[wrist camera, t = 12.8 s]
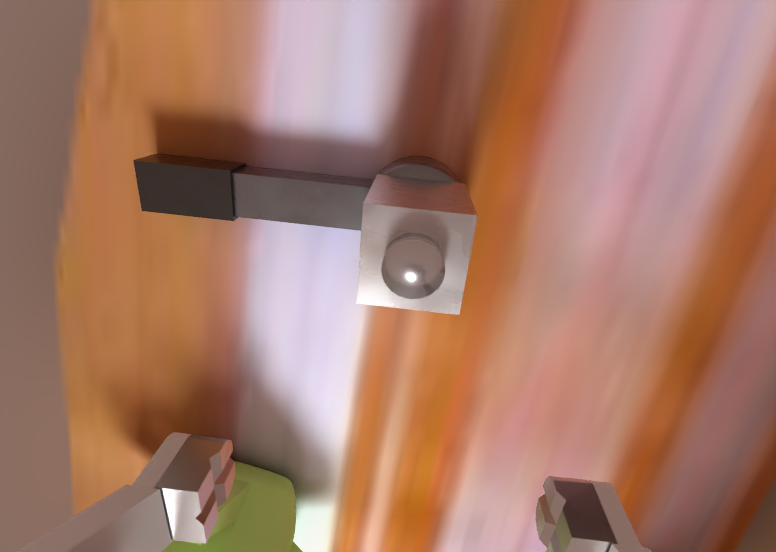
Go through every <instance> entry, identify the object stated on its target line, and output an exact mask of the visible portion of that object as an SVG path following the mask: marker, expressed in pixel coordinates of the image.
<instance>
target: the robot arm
mask: <svg viewBox="0 0 776 552" xmlns="http://www.w3.org/2000/svg"><path fill="white" fill-rule="evenodd" d="M232 451H233V446H232V440H228V439H222V438H215V437H208V436H201V435H194V434H185V433H178V432H173V433H171V434H170V435H169V436H167V438H166V439H165V440H164V442H163V443H162V445H161V446H160V447H159V449H158V450H157V451H156V453H155V454H154V456H153V457H152V458H151V460H150V461H149V463H148V464H147V465H146V467H145V468H144V469H143V471H142V472H141V474H140V475H139V476H138V478H137V479H136V481H135V482H134V483H133V485H125V486H123V487H122V488H120V489H118V490H117V491H115V492H114V493H112V494H110V495H109V496H107V497H105V498H104V499H102V500H100V501H99V502H97V503H95V504H94V505H92V506H91V507H89V508H87V509H86V510H84V511H82V512H81V513H79V514H77V515H76V516H74V517H72V518H71V519H69V520H68V521H66V522H64V523H63V524H61V525H59V526H58V527H56V528H54V529H53V530H51V531H49V532H48V533H46V534H44V535H43V536H41V537H39V538H38V539H36V540H35V541H33V542H31V543H30V544H28V545H26V546H25V547H23V548H21V549H20V550H18V551H17V552H161V551H163V550H164V549H165V548H166V547H167V546H168V545H169V544H170V543H171V542H172V541H171V540H175V541H186V542H196V543H207V541H208V539H209V537H210V535H211V533H212V530H213V528H214V526H215V524H216V522H217V520H218V518H219V517H218V509H217V508H218V507H219V506H220V505H222V504H223V503H224V502H226V501H227V498H228V496H229V494H230V492H231V489H232V485H233V481H234V477H235V462H234V461H233V460H232V459H231V458H230V455H231V453H232ZM543 488H544V492H545V494H544V495H543V496H541V497H540V498H539V499H538V503H537V506H536V526H537V531H538V536H539V539H540V540H541V541H542V543H543V544H544V545H545V546H546V547H547V551H546V552H652V551H651V550H650V549H649V548H644V547H642V546H641V544H640V541H639V539H638V537H637V535H636V533H635V531H634V529H633V527H632V525H631V523H630V521H629V518H628V516H627V514H626V512H625V510H624V508H623V506H622V504H621V502H620V500H619V498H618V495H617V493H616V491H615V489H614V487H613V486H612V485H611V484H610V483H606V482H597V481H587V480H582V479H572V478H562V477H553V476H548V477H547V478H546V479H545V481H544V484H543Z"/></svg>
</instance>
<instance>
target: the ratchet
mask: <svg viewBox="0 0 776 552" xmlns="http://www.w3.org/2000/svg"><path fill="white" fill-rule="evenodd" d="M134 166H135V172H136V178H137V184H138V190H139V196H140V202H141V208H142V211H148V212H157V213H166V214H175V215H184V216H193V217H202V218H211V219H220V220H229V221H234V220H235V219H237V218H238V217H244V218H253V219H262V220H271V221H280V222H289V223H298V224H307V225H316V226H325V227H334V228H343V229H352V230H361V228H362V212H363V202H364V200H365V198H366V196H367V194H368V192H369V190H370V188H371V186H372V184H373V182H374V180H370V179H361V178H352V177H342V176H333V175H324V174H314V173H305V172H295V171H286V170H277V169H267V168H258V167H249V166H246V163H240V162H230V161H221V160H212V159H202V158H193V157H183V156H174V155H165V154H154V155H150V156H147V157H143V158H140V159H136V160H134ZM380 175H390V176H400V177H409V178H419V179H429V180H438V181H448V182H458V183H460V182H459V180H458V179H457V177H456V176H455V174H454V173H453V172H452V171H451V170H450V169H449V168H448V167H447V166H445V165H444V164H442V163H441V162H438V161H436V160H434V159H431V158H427V157H421V156H413V157H406V158H402V159H400V160H397V161H395V162H393V163H391V164H390V165H388V166H387V167H385V168H384V169H383V170H382V171H381V172H380Z"/></svg>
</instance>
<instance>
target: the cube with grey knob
mask: <svg viewBox="0 0 776 552" xmlns="http://www.w3.org/2000/svg"><path fill="white" fill-rule="evenodd" d="M477 216H478V215H477V213H476V210H475V208H474V205H473V202H472V200H471V197H470V195H469V192H468V190H467V187H466V184H465V183H458V182H448V181H438V180H429V179H419V178H409V177H400V176H390V175H380V174H377V176H376V178H375V180H374V182H373V184H372V186H371V188H370V190H369V192H368V194H367V196H366V198H365V200H364V202H363V212H362V228H361V244H360V260H359V276H358V292H357V303H359V304H368V305H377V306H386V307H395V308H403V309H412V310H421V311H430V312H438V313H447V314H456V315H459V314H460V308H461V303H462V297H463V292H464V287H465V281H466V276H467V270H468V265H469V259H470V254H471V249H472V243H473V238H474V232H475V227H476V221H477Z"/></svg>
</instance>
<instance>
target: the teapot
mask: <svg viewBox="0 0 776 552" xmlns="http://www.w3.org/2000/svg"><path fill="white" fill-rule="evenodd" d="M234 462H235V477H234V481H233V485H232V489H231V492H230V494H229V496H228V498H227V501H226V502H224V503H223V504H222V505H220V506H219V507H218V508H217V509H218V517H219V518H218V520H217V522H216V524H215V526H214V528H213V530H212V533H211V535H210V537H209V539H208V541H207V543H196V542H186V541H175V540H171V541H172V542H171V543H170V544H169V545H168V546H167V547H166V548H165V549H164V550H163V551H161V552H302V551H301V550H300V549H299V547H298V546H297V545H296V544H295V543H294V542H293V539H294V533H295V523H296V500H295V491H294V487H293V484H292V482H291V481H290V480H289V479H288V478H286V477H284V476H282V475H279V474H276V473H273V472H271V471H267V470H264V469H261V468H258V467H255V466H251V465H248V464H244V463H241V462H237V461H234Z"/></svg>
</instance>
